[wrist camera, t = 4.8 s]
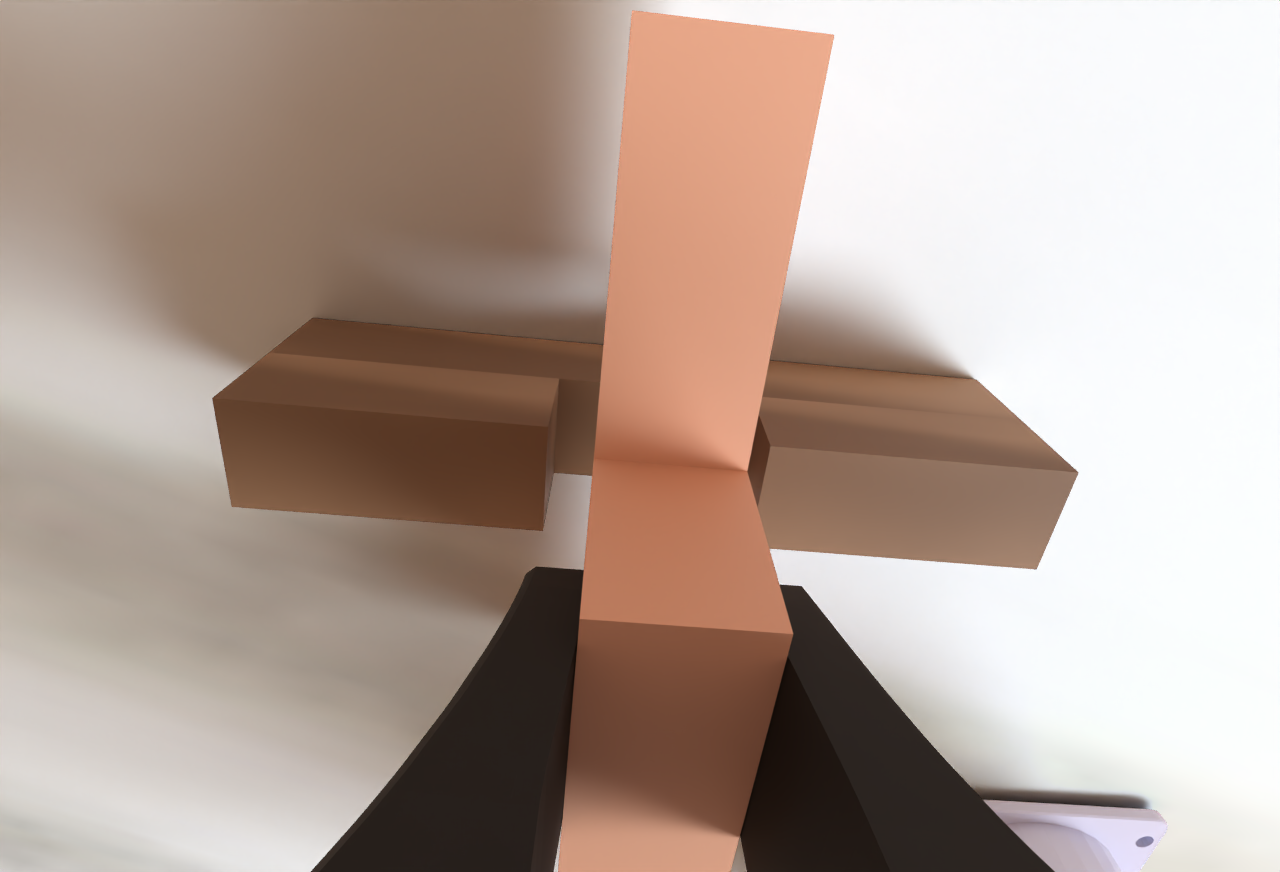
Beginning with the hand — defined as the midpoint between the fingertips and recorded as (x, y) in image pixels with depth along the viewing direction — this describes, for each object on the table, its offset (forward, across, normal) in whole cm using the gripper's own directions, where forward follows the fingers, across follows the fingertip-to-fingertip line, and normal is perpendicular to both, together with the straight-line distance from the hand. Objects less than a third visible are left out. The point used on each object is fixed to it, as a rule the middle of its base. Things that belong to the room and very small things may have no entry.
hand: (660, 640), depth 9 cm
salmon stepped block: (+5, 0, 0) cm, 5 cm away
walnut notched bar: (+8, 0, 0) cm, 8 cm away
